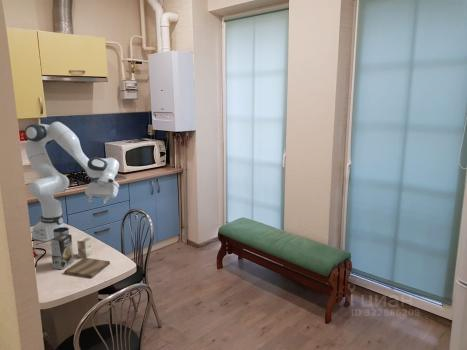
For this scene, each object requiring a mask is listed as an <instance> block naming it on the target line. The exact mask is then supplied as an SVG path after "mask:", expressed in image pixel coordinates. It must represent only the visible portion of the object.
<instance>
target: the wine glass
mask: <svg viewBox="0 0 467 350" xmlns="http://www.w3.org/2000/svg"><path fill="white" fill-rule="evenodd" d="M69 229H70V228H69V227H67V226H66V227H65V226H64V227H59V228H56V229H54V230H53V234H54V238H55V237H57V236H58V235H60V234H70V230H69Z"/></svg>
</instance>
